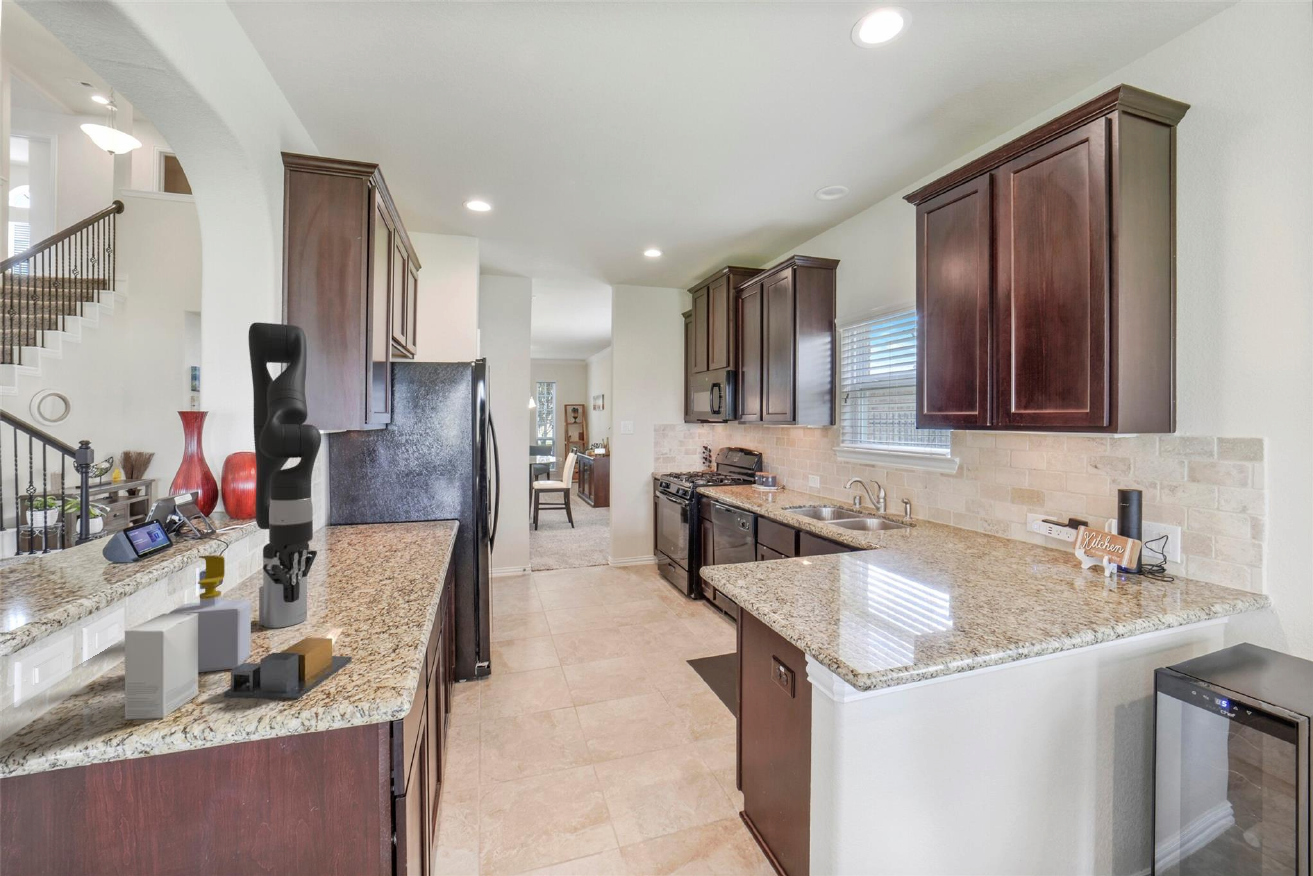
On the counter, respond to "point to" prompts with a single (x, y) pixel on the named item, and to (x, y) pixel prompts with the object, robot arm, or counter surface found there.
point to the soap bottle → (220, 622)
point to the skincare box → (161, 665)
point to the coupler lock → (312, 655)
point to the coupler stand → (278, 677)
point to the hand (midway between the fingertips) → (291, 601)
